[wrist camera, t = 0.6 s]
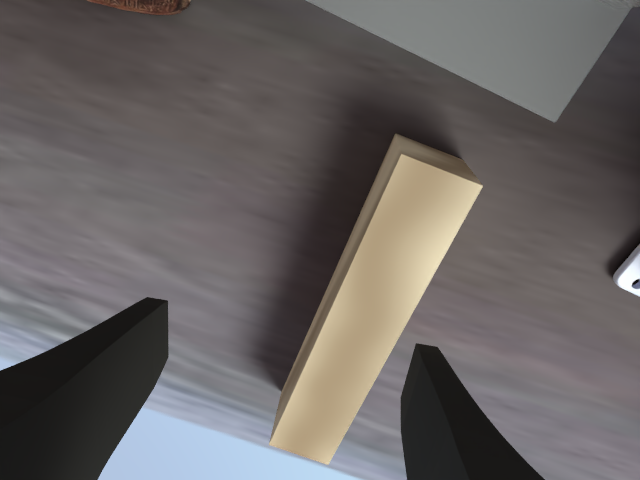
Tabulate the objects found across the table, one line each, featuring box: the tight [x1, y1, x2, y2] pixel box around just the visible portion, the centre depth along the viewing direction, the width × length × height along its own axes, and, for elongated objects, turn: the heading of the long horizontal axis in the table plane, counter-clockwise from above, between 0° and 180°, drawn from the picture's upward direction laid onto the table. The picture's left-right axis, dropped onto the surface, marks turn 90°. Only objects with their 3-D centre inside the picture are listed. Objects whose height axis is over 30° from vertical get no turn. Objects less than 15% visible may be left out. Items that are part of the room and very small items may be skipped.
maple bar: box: [269, 133, 483, 465], centre depth 21 cm, size 3×16×4 cm, turn 160°
